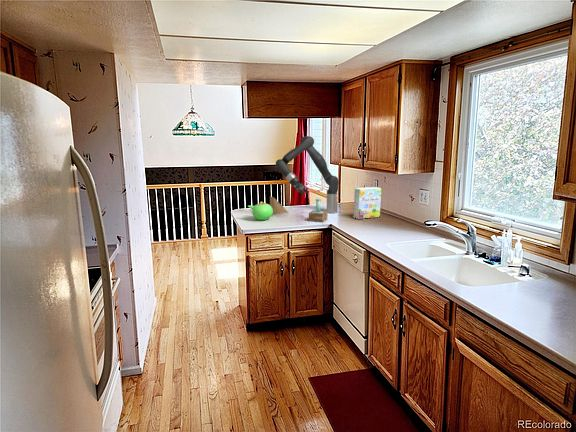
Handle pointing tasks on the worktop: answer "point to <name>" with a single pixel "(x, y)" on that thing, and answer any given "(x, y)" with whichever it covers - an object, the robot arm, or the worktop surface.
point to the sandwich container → (277, 206)
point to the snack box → (367, 202)
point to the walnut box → (318, 216)
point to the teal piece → (318, 206)
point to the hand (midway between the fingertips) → (305, 193)
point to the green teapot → (261, 211)
